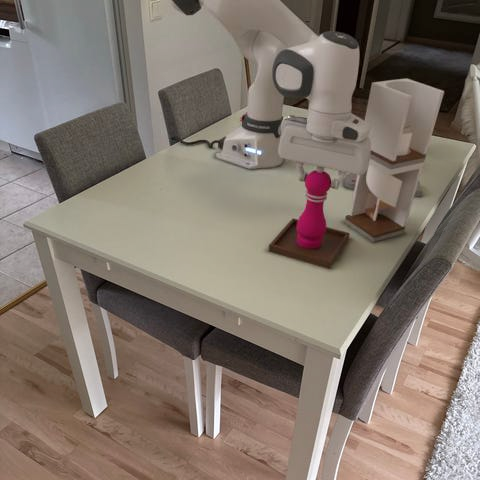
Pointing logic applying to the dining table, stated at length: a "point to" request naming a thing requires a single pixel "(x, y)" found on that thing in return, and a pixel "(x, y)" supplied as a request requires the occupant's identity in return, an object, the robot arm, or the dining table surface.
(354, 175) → the remote control
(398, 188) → the two-tier shelf stand
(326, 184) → the pepper mill
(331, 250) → the serving tray
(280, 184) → the dining table surface
